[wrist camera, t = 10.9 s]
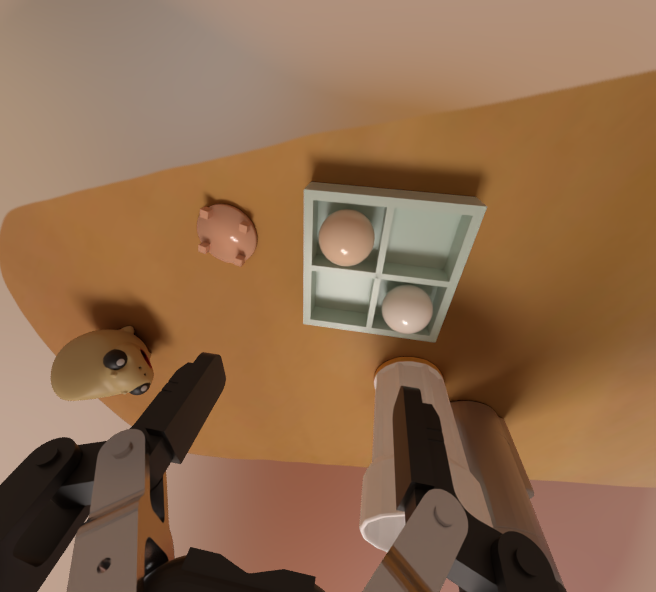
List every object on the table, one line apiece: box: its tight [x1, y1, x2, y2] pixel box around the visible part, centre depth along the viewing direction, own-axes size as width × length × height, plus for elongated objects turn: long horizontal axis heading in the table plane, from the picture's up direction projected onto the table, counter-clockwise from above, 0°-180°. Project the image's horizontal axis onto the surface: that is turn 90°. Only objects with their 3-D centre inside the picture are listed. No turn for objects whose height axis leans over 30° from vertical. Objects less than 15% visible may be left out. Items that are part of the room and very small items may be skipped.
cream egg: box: [382, 284, 433, 334], centre depth 28 cm, size 5×5×5 cm
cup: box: [359, 357, 493, 552], centre depth 31 cm, size 11×11×17 cm
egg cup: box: [197, 204, 257, 267], centre depth 29 cm, size 6×6×2 cm
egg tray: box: [303, 182, 487, 342], centre depth 27 cm, size 15×15×3 cm
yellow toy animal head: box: [51, 326, 154, 401], centre depth 38 cm, size 10×12×11 cm
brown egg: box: [319, 209, 375, 266], centre depth 24 cm, size 5×5×5 cm
